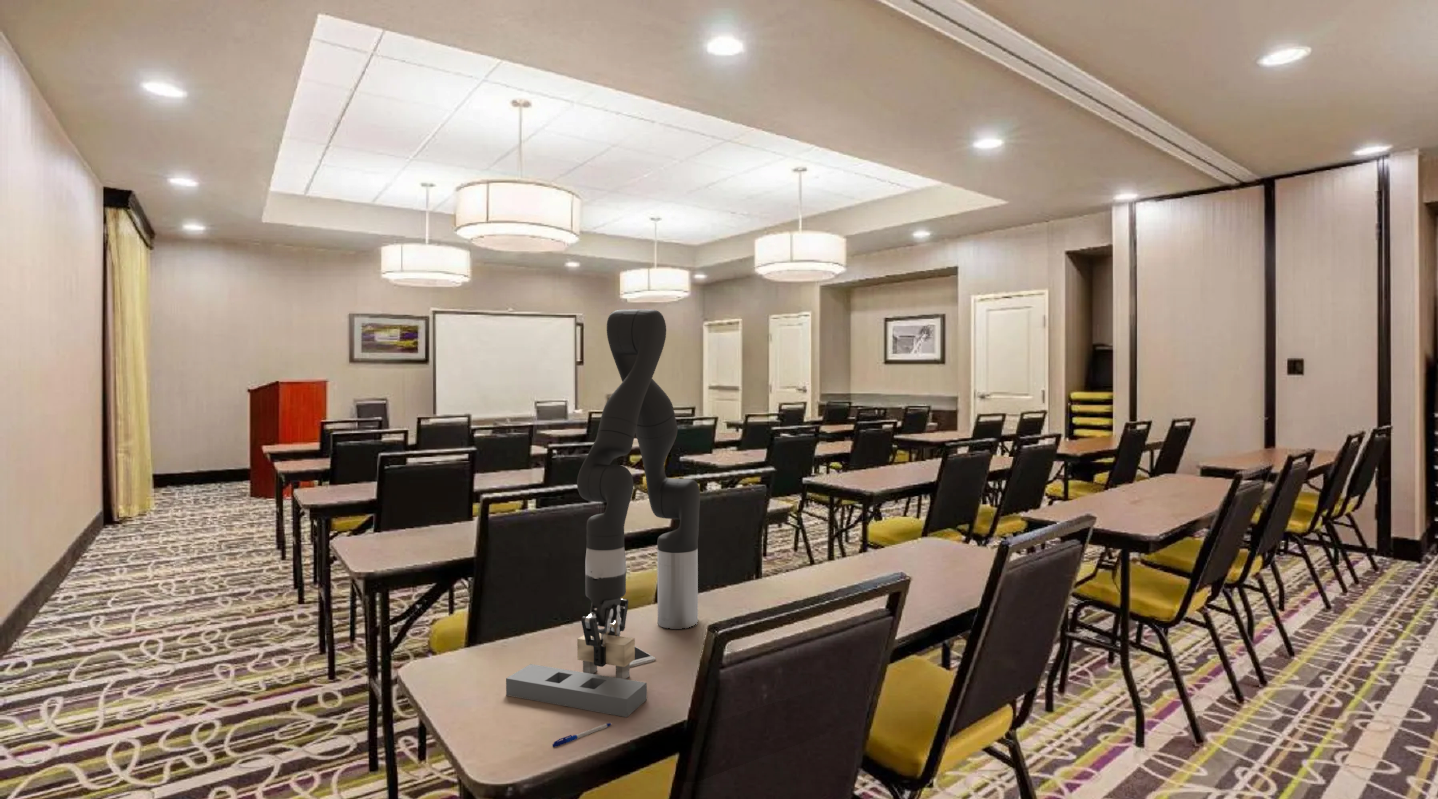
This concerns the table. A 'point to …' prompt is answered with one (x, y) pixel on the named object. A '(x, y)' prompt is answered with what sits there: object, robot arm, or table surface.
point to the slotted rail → (577, 689)
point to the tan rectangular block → (609, 654)
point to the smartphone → (641, 657)
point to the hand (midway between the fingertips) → (606, 660)
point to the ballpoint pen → (579, 735)
